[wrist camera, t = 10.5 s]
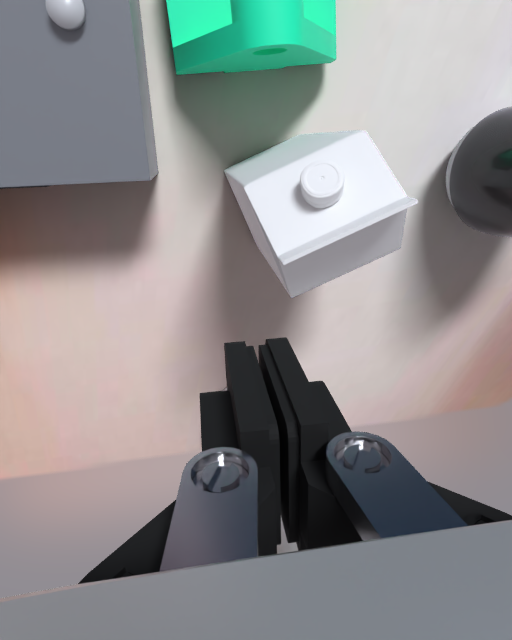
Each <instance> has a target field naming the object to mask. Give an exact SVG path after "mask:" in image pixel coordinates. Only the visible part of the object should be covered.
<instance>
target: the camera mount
mask: <svg viewBox="0 0 512 640" xmlns="http://www.w3.org/2000/svg"><path fill="white" fill-rule="evenodd" d="M166 2H167V9H168V17H169V24H170V31H171V39H172V46H173V53H174V61H175V68H176V74H177V75H182V74H195V73H208V72H221V71H224V73H229V72H242V71H254V70H267V69H280V68H284V67H285V66H297V65H310V64H323V63H331V62H333V61H335V60H336V5H335V0H166Z"/></svg>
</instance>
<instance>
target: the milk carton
mask: <svg viewBox="0 0 512 640" xmlns="http://www.w3.org/2000/svg"><path fill="white" fill-rule="evenodd" d="M224 172H225V175H226V177H227V179H228V181H229V184H230V186H231V188H232V191H233V193H234V195H235V197H236V200H237V202H238V204H239V206H240V209H241V211H242V213H243V216H244V218H245V220H246V222H247V225H248V227H249V229H250V232H251V234H252V236H253V238H254V241H255V243H256V245H257V247H258V248H259V250H260V251H261V253H262V254H263V256H264V257H265V259H266V260H267V262H268V263H269V265H270V266H271V268H272V269H273V271H274V273H275V274H276V276H277V277H278V279H279V280H280V282H281V283H282V285H283V286H284V288H285V289H286V291H287V292H288V294H289V295H290V297H291V298H293V297H296V296H298V295H300V294H302V293H304V292H307V291H309V290H311V289H313V288H315V287H318V286H320V285H322V284H324V283H326V282H328V281H331V280H333V279H335V278H337V277H339V276H342V275H344V274H346V273H348V272H350V271H352V270H355V269H357V268H359V267H361V266H363V265H365V264H368V263H370V262H372V261H374V260H376V259H379V258H381V257H383V256H385V255H387V254H389V253H392V252H394V251H396V250H398V249H400V248H401V243H402V237H403V230H404V224H405V218H406V211H407V208H408V207H411V206H413V205H415V204H417V203H418V200H417V199H414V198H410V197H408V196H407V195H406V193H405V192H404V190H403V188H402V187H401V185H400V184H399V182H398V180H397V179H396V177H395V176H394V174H393V172H392V171H391V169H390V168H389V166H388V164H387V163H386V161H385V160H384V158H383V157H382V155H381V153H380V152H379V150H378V149H377V147H376V145H375V144H374V142H373V141H372V139H371V137H370V136H369V134H368V133H367V131H365V130H354V131H340V132H327V133H313V134H300V135H297V136H295V137H293V138H290V139H288V140H286V141H284V142H282V143H280V144H278V145H275V146H273V147H271V148H269V149H267V150H265V151H263V152H261V153H259V154H256V155H254V156H252V157H250V158H248V159H246V160H244V161H242V162H239V163H237V164H235V165H233V166H231V167H229V168H227V169H225V170H224Z"/></svg>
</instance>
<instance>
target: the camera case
mask: <svg viewBox="0 0 512 640" xmlns="http://www.w3.org/2000/svg"><path fill="white" fill-rule="evenodd" d="M157 174H158V166H157V157H156V148H155V139H154V130H153V121H152V112H151V103H150V94H149V85H148V76H147V67H146V58H145V49H144V40H143V31H142V22H141V14H140V5H139V0H0V189H3V188H24V187H46V186H51V185H62V184H83V183H105V182H127V181H148V180H151V179H152V178H153V177H155V176H156V175H157Z"/></svg>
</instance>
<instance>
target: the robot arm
mask: <svg viewBox="0 0 512 640" xmlns="http://www.w3.org/2000/svg"><path fill="white" fill-rule="evenodd" d="M224 349H225V364H226V379H227V387H226V388H225V389H224V390H223V391H216V392H207V393H200V412H201V437H202V452H201V453H199V454H197V455H196V456H194V457H193V458H192V459H191V460H190V461H189V462H188V463H187V464H186V466H185V468H184V470H183V473H182V478H181V482H180V486H179V490H178V495H177V499H176V500H175V501H174V502H173V503H171V504H170V505H169V506H168V507H167V508H165V510H163V511H162V512H161V513H160V514H158V515H157V516H156V517H155V518H154V519H152V520H151V521H150V522H149V523H148V524H146V525H145V526H144V527H143V528H142V529H140V530H139V531H138V532H137V533H136V534H134V535H133V536H132V537H131V538H130V539H129V540H127V541H126V542H125V543H124V544H123V545H121V546H120V547H119V548H118V549H117V550H115V551H114V552H113V553H112V554H111V555H110V556H108V557H107V558H106V559H105V560H104V561H102V562H101V563H100V564H99V565H98V566H96V567H95V568H94V569H93V570H92V571H90V572H89V573H88V574H87V575H86V576H85V577H84V578H83V579H82V580H81V581H80V582H79V583H78V584H76V585H70V586H65V587H59V588H54V589H48V590H43V591H38V592H32V593H27V594H21V595H16V596H11V597H6V598H1V599H0V640H512V516H511V515H509V514H507V513H505V512H502V511H500V510H497V509H495V508H492V507H490V506H487V505H485V504H482V503H480V502H477V501H475V500H472V499H470V498H467V497H465V496H462V495H460V494H457V493H455V492H452V491H450V490H447V489H445V488H442V487H440V486H437V485H435V484H432V483H430V482H428V481H426V480H425V479H424V478H423V477H422V475H421V474H420V473H419V472H418V471H417V470H416V469H415V468H414V467H413V466H412V465H411V464H410V462H409V461H408V460H407V459H406V458H405V457H404V456H403V455H402V454H401V453H400V452H399V451H398V450H397V449H396V447H395V446H394V445H392V444H391V443H390V442H389V441H387V440H386V439H384V438H382V437H380V436H378V435H374V434H371V433H367V432H352V431H351V430H350V428H349V426H348V424H347V422H346V421H345V419H344V417H343V415H342V414H341V412H340V410H339V408H338V406H337V405H336V403H335V401H334V399H333V397H332V396H331V394H330V392H329V390H328V389H327V387H326V385H325V383H324V382H323V381H314V382H309V381H308V379H307V377H306V375H305V373H304V371H303V369H302V367H301V365H300V363H299V361H298V359H297V357H296V355H295V353H294V351H293V349H292V347H291V345H290V343H289V341H288V339H287V338H276V339H266V343H265V345H259V363H258V360H257V357H256V354H255V351H254V347H253V346H246V344H245V341H243V342H231V343H224Z"/></svg>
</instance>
